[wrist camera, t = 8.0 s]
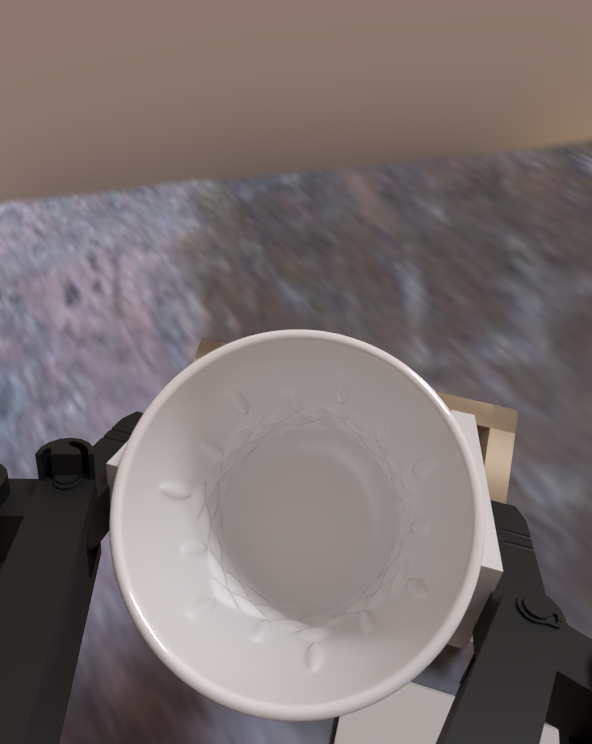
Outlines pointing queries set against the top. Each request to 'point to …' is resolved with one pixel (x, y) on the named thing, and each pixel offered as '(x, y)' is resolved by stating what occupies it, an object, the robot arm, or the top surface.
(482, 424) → the frame
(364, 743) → the mat
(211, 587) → the white cup
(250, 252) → the top surface
